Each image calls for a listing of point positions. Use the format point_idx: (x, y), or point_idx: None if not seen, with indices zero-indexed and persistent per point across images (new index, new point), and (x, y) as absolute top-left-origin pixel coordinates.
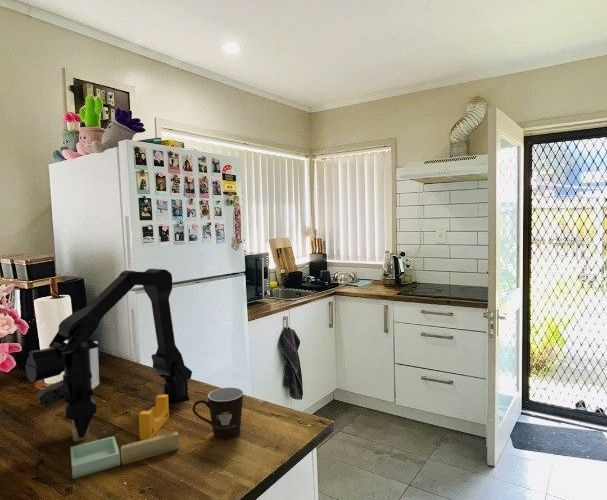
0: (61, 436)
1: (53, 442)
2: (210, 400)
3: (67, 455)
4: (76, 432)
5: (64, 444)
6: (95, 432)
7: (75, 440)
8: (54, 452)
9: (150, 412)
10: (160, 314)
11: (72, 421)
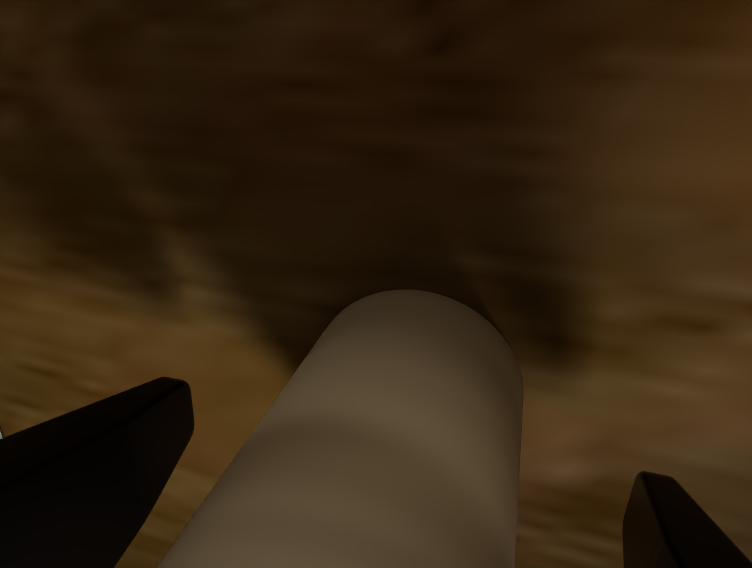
0: (710, 165)
1: (541, 9)
2: None
3: (9, 161)
4: (279, 397)
5: (339, 169)
6: None
7: (337, 315)
8: (151, 9)
9: None
10: None
11: (243, 518)
